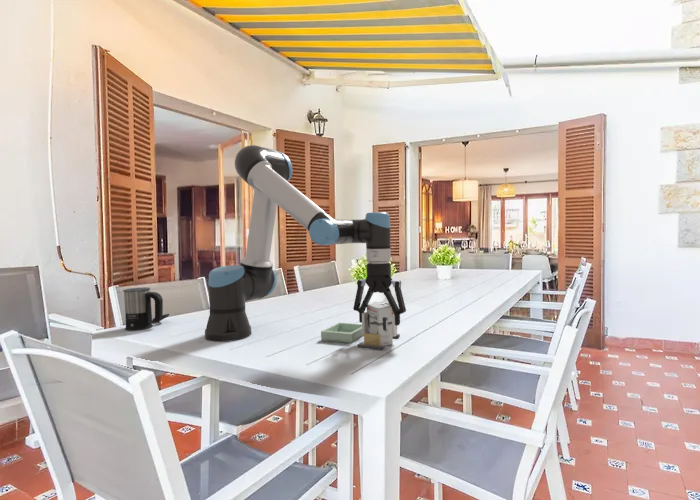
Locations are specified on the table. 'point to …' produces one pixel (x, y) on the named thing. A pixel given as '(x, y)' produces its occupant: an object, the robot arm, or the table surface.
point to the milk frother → (142, 308)
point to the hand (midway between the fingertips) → (379, 334)
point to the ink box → (380, 322)
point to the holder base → (374, 347)
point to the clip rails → (372, 339)
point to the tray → (342, 333)
